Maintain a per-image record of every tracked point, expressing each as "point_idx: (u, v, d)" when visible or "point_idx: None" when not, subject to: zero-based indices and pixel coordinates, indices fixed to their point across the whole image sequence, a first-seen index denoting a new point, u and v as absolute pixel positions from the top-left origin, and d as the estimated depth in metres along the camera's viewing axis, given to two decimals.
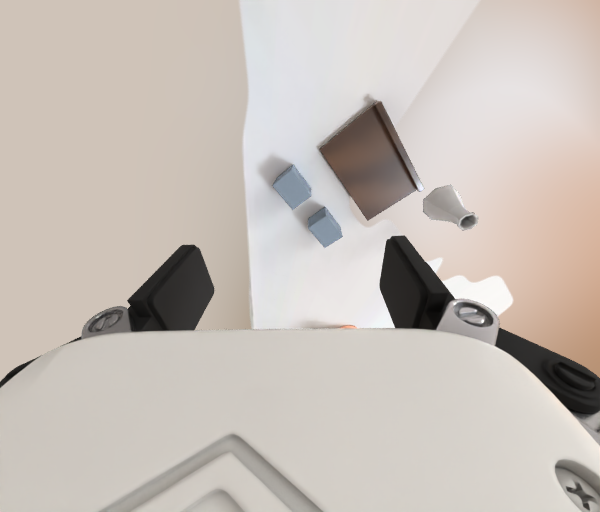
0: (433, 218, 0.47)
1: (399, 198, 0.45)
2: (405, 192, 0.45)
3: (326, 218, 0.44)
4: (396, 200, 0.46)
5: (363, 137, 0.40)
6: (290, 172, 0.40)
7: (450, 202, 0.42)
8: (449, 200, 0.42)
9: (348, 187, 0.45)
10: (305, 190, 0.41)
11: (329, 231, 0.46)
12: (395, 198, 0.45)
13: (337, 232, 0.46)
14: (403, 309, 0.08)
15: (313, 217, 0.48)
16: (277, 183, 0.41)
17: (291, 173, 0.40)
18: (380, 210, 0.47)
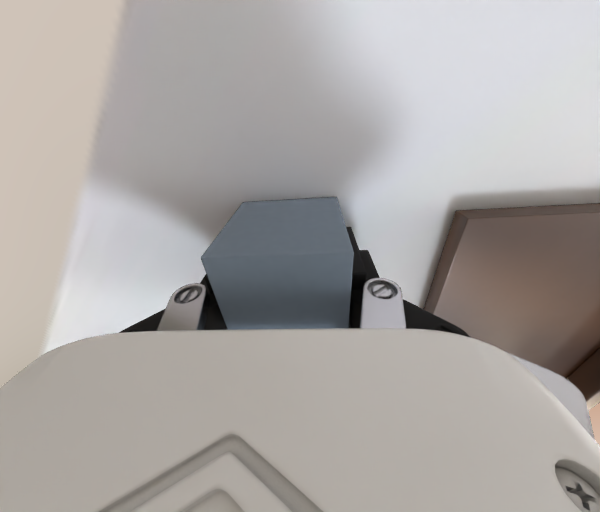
0: None
1: None
2: None
3: None
4: None
5: (599, 271, 0.11)
6: (339, 260, 0.06)
7: None
8: None
9: None
10: None
11: None
12: None
13: None
14: None
15: None
16: (235, 264, 0.07)
17: (340, 267, 0.07)
18: None
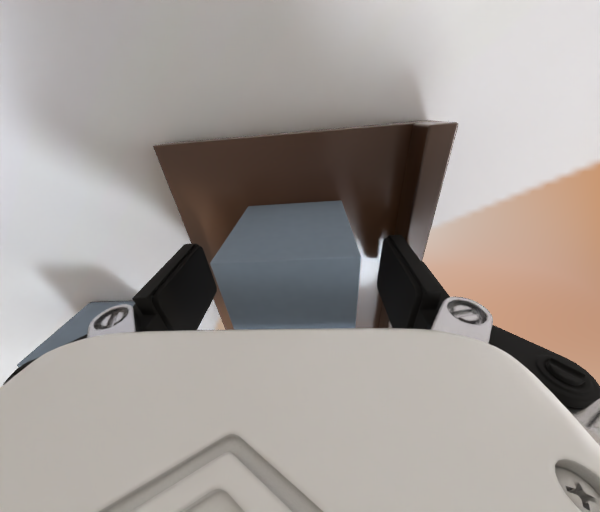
0: None
1: None
2: None
3: None
4: None
5: None
6: (347, 265, 0.07)
7: None
8: None
9: (219, 299, 0.15)
10: None
11: None
12: None
13: None
14: (399, 307, 0.08)
15: (91, 316, 0.15)
16: (244, 269, 0.07)
17: (348, 271, 0.07)
18: None
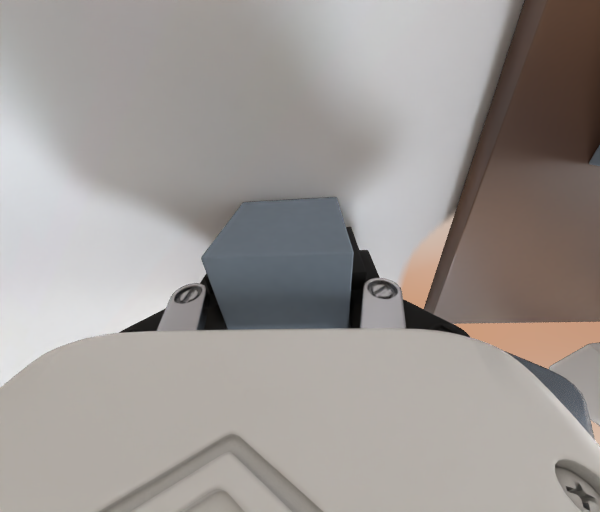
0: None
1: (566, 317, 0.13)
2: None
3: (341, 266, 0.07)
4: (555, 317, 0.13)
5: None
6: None
7: None
8: None
9: (494, 176, 0.09)
10: None
11: (308, 328, 0.08)
12: (561, 310, 0.12)
13: None
14: None
15: (266, 211, 0.10)
16: None
17: None
18: (489, 318, 0.13)
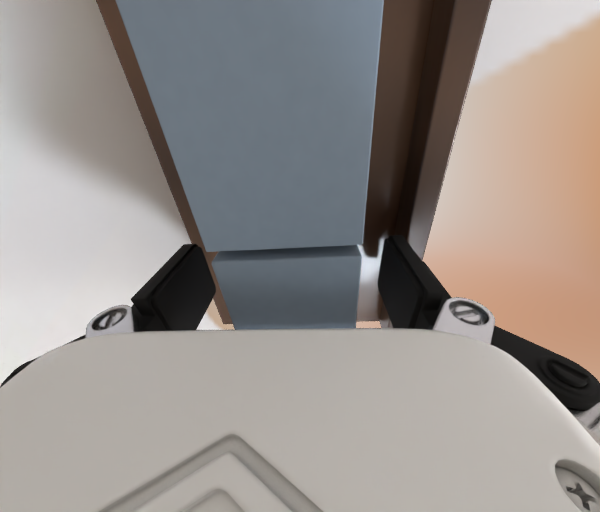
0: None
1: None
2: None
3: (349, 271, 0.07)
4: None
5: None
6: None
7: None
8: None
9: (185, 207, 0.11)
10: (357, 192, 0.05)
11: None
12: None
13: None
14: (400, 308, 0.08)
15: None
16: None
17: None
18: None
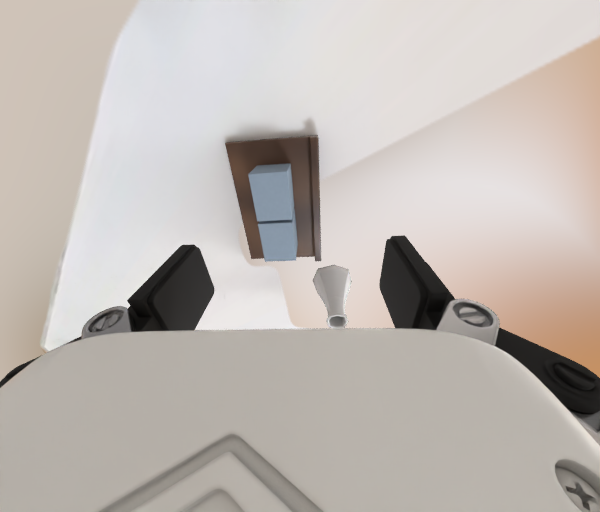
0: None
1: None
2: (303, 252, 0.37)
3: (290, 226, 0.29)
4: None
5: None
6: (284, 174, 0.25)
7: (335, 289, 0.36)
8: (336, 286, 0.36)
9: (243, 210, 0.33)
10: (288, 208, 0.28)
11: (283, 244, 0.31)
12: None
13: (292, 251, 0.31)
14: (403, 309, 0.08)
15: None
16: (257, 175, 0.26)
17: (284, 176, 0.26)
18: None
